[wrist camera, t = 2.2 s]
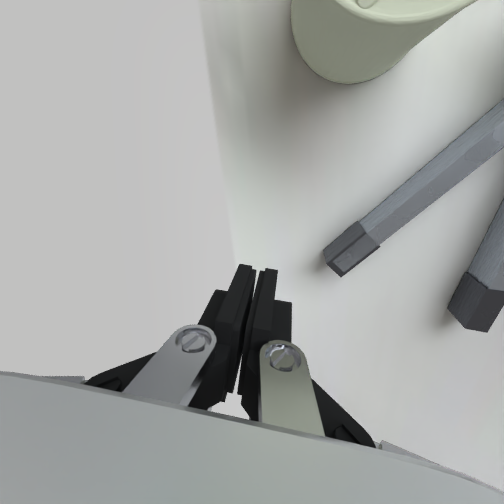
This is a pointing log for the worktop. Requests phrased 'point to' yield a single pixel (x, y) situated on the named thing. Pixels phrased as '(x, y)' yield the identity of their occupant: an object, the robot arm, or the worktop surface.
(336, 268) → the bar
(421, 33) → the can
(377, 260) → the worktop surface
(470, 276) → the tongs fixed
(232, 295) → the robot arm
